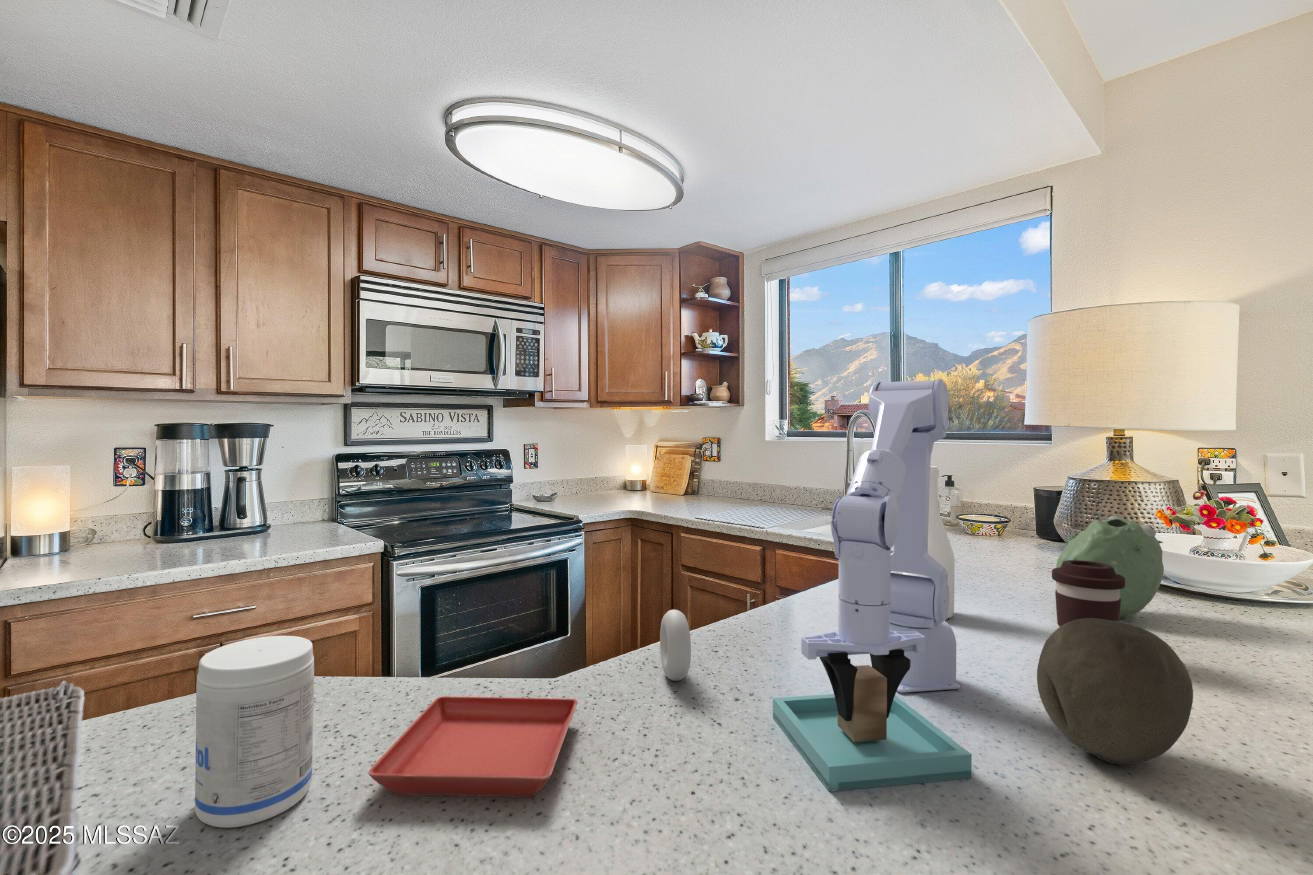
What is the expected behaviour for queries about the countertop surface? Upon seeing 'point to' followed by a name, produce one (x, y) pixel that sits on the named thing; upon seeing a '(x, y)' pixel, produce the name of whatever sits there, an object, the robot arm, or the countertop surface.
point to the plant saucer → (478, 747)
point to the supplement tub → (253, 729)
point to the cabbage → (1122, 557)
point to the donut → (675, 645)
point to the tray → (869, 746)
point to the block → (867, 707)
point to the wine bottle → (939, 539)
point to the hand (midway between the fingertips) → (863, 715)
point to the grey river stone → (1114, 689)
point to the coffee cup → (1087, 591)
